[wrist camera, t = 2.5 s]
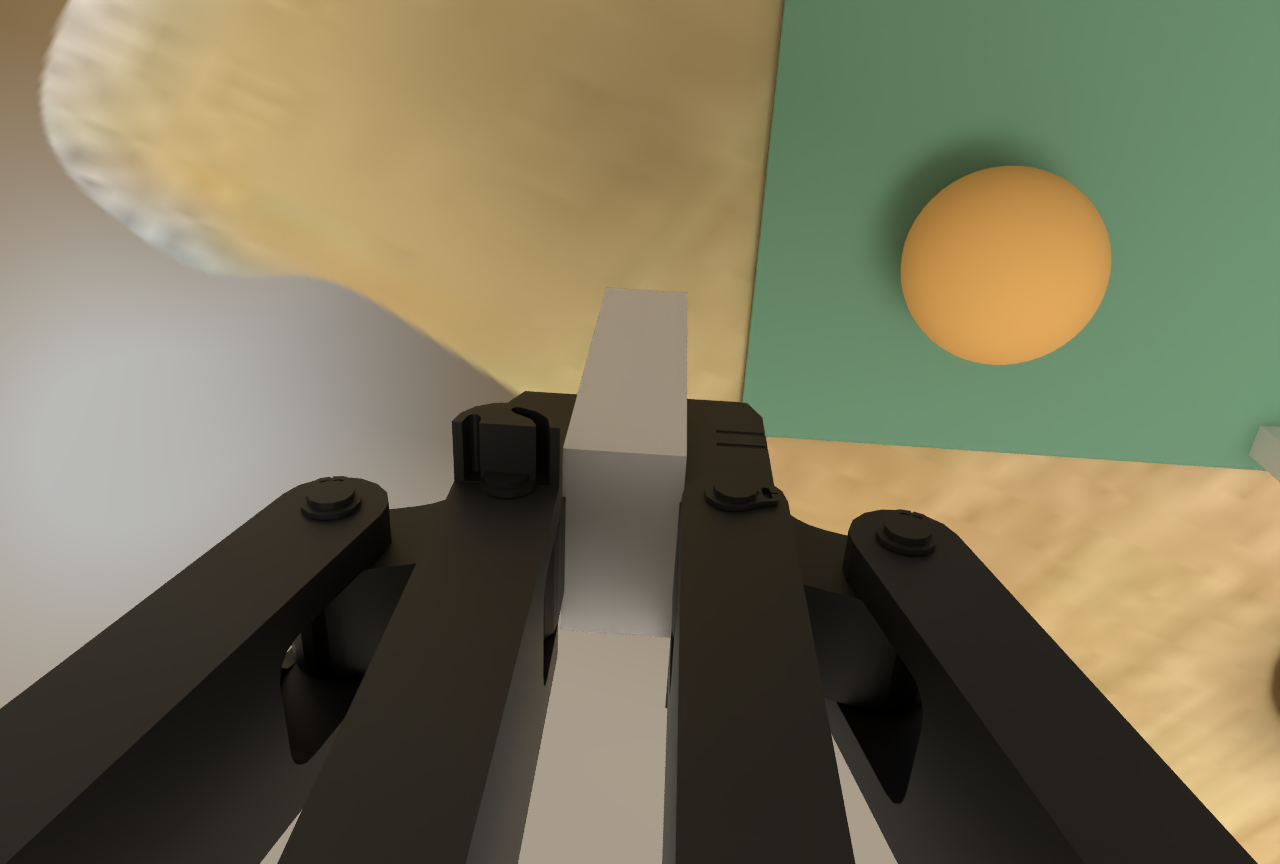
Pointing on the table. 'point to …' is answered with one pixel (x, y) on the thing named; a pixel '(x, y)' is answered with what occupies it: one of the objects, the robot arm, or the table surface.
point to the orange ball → (1005, 265)
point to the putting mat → (1048, 140)
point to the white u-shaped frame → (1267, 449)
